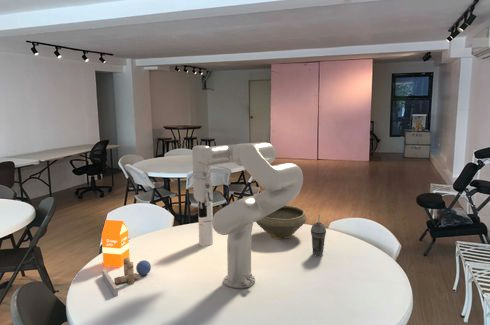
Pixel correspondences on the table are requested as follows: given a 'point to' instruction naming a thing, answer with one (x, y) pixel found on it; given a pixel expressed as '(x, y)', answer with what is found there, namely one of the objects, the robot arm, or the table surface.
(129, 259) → the pin
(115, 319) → the table surface
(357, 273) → the table surface
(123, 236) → the orange juice
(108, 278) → the rail
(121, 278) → the pin front
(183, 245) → the table surface
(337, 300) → the table surface
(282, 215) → the bowl
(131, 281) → the pin
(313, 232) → the beverage cup
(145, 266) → the ball
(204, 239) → the cylindrical container
